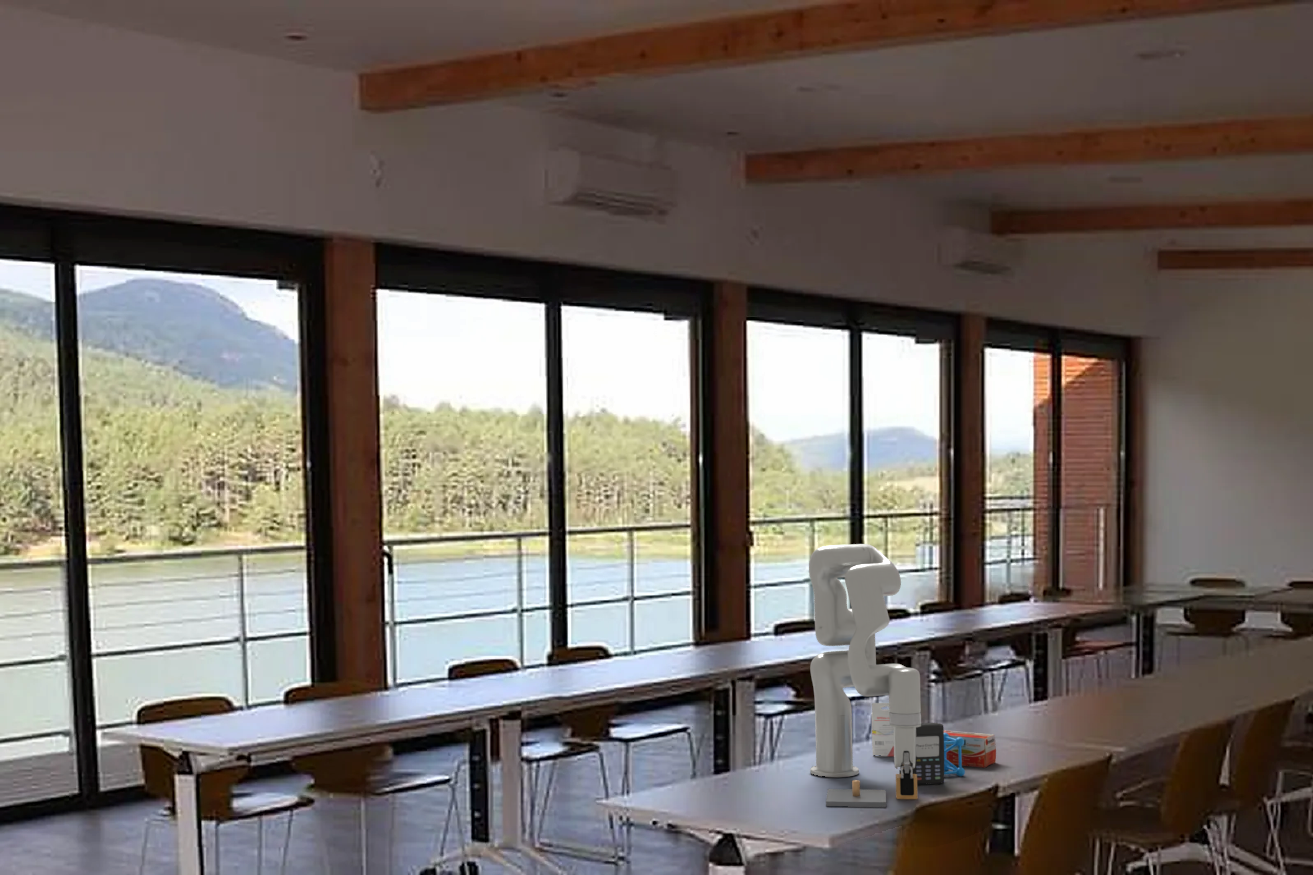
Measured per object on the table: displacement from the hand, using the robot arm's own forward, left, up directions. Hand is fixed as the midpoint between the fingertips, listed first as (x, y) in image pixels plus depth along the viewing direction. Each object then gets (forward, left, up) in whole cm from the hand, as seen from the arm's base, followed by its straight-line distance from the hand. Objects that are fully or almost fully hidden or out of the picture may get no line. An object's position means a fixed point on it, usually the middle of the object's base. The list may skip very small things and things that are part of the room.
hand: (906, 790), depth 370 cm
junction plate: (+5, -12, -1) cm, 13 cm away
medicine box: (-44, +16, -2) cm, 47 cm away
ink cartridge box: (-55, -4, -2) cm, 55 cm away
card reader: (-16, +5, -2) cm, 17 cm away
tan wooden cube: (0, 0, -2) cm, 2 cm away
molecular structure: (-28, +9, -2) cm, 30 cm away
